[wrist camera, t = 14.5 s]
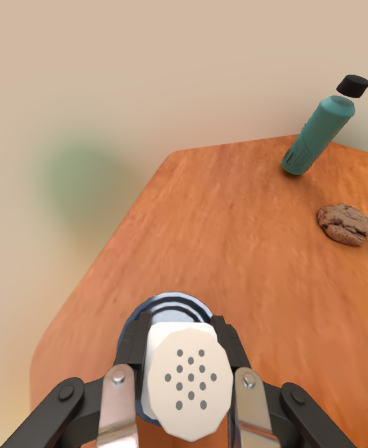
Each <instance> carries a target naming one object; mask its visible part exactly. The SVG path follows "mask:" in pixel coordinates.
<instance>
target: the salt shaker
mask: <svg viewBox="0 0 368 448" xmlns="http://www.w3.org/2000/svg"><path fill="white" fill-rule="evenodd" d="M232 385H233V374H232V371H231V368H230V364H229V361H228V358H227V355H226V352H225V350H224V349H223V348H222V346H221V345H220V344H219V343H218V341H217V334H216V332H215V330H214V328H213V326H211V325H209V324H207V323H193V322H159V323H156V324H154V325H152V326H151V328H150V330H149V332H148V337H147V345H146V353H145V362H144V373H143V383H142V395H141V404H142V408H143V412H144V414H146V415H147V416H148V417H150V418H151V419H157V420H158V421H159V422H160V424H161V425H162V427H163V428H164V430H165V432H166V433H167V434H170V435H173V436H175V437H178V438H181V439H183V440H186V441H189V442H194V441H196V440H198V439H200V438H203V437H205V436H207V435H209V434H212V433H214V432H216V430H217V428H218V427H219V425H220V423H221V422H222V420H223V418H224V417H225V415H226V413H227V412H228V410H229V408H230V407H231V396H232Z"/></svg>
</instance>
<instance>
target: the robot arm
mask: <svg viewBox="0 0 368 448" xmlns="http://www.w3.org/2000/svg"><path fill="white" fill-rule="evenodd" d="M151 322H152V313H150V312H141V314H140V317H139V321H137V320H132V321H131V322H130V323H129V324H128V325H127V327H126V329H125V332H124V335H123V338H122V341H121V344H120V347H119V350H118V353H117V356H116V359H115V361H114V364H113V367H112V368H111V369H110V370H109V371H108V372H107V373H106V375H105V376H103V377H102V378H100V379H98V380H95V381H92V382H89V383H86V384H84V382H83V381H82V380H81V379H80V378H77V377H73V378H68V379H66V380H64V381H62V382H60V383H59V384H58V385H57V386H56V387H55V388H54V389H53V390H52V391H51V392H50V393H49V394H48V395H47V396H46V397H45V399H44V400H43V401H42V402H41V403H40V404H39V405H38V406H37V407H36V408H35V410H34V411H33V412H32V413H31V414H30V415H29V416H28V417H27V418H26V419H25V421H24V422H23V423H22V424H21V425H20V426H19V427H18V428H17V429H16V431H15V432H14V433H13V434H12V435H11V436H10V437H9V438H8V439H7V441H5V443H4V444H3V445H2V446H1V447H0V448H80V447H81V446H82V445H83V444H85V443H87V442H90V441H92V440H94V439H96V445H95V448H139V443H138V427H137V422H136V408H135V402H136V400H141V393H142V383H143V373H144V362H145V353H146V345H147V337H148V332H149V330H150V328H151ZM210 325H211V326H213V328H214V330H215V332H216V334H217V341H218V343H219V344H220V345H221V346H222V348H223V349H224V350H225V352H226V355H227V358H228V361H229V364H230V368H231V371H232V374H233V385H232V396H231V407H230V408H229V410H228V448H357V447H356V446H355V445H354V444H353V443H352V442H351V441H350V440H349V439H348V437H347V436H346V435H345V434H344V433H343V432H342V431H341V430H340V429H339V427H338V426H337V425H336V424H335V423H334V422H333V421H332V420H331V419H330V417H329V416H328V415H327V414H326V413H325V412H324V411H323V410H322V409H321V407H320V406H319V405H318V404H317V403H316V402H315V401H314V400H313V399H312V397H311V396H310V395H309V394H308V393H307V392H306V391H305V390H304V389H303V388H301V387H300V386H298V385H296V384H294V383H290V382H287V383H284V384H283V385H282V388H278V387H276V386H273V385H270V384H268V383H265V382H264V381H262V379H261V378H260V376H259V375H258V374H257V373H256V372H255V371H254V370H252V368H251V366H250V363H249V361H248V359H247V356H246V354H245V351H244V349H243V346H242V345H241V341H240V339H239V337H238V334H237V332H236V330H235V329H234V328H233V327H232V326H231V324H226V323H225V321H224V318H223V316H216V315H212V316H211V321H210Z"/></svg>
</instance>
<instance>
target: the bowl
mask: <svg viewBox="0 0 368 448" xmlns="http://www.w3.org/2000/svg"><path fill="white" fill-rule="evenodd" d="M141 312H150V313H152V322H151V326H152V325H154V324H156V323H159V322H193V323H207V324H209V325H210V321H211V316H212V315H213V314H212V312H211V311H210V310H209V308H208V307H207V306H206V305H205V304H203V303H202V302H201V301H199V300H198V299H196V298H195V297H193V296H191V295H187V294H184V293H181V292H165V293H161V294H158V295H156V296H153V297H150V298H149V299H147V300H146V301H145V302H143V303H142V304H141V305H140V306H138V307H137V308H136V309H135V311H134V312H133V313H132V315H131V316H130V317H129V318H128V320H127V321H126V323H125V325H124V328H123V330H122V333H121V335H120V338H119V340H118V345H117V353H118V350H119V347H120V344H121V341H122V338H123V335H124V332H125V329H126V327H127V325H128V324H129V323H130V322H131V321H132V320H137V321H139V317H140V314H141ZM117 353H116V356H117ZM141 395H142V393H141ZM135 408H136V414H137V415H138V416H139V417H140V418H141V419H142V420H143V419H144V421H147V422H149V423H152V424H155V425H157V426H160V427H162V425H161V424H160V422H159V421H158V420H157V419H151V418H150V417H148V416H147V415H146V414H144V412H143V408H142V404H141V400H136V402H135Z"/></svg>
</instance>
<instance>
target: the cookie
mask: <svg viewBox="0 0 368 448" xmlns="http://www.w3.org/2000/svg"><path fill="white" fill-rule="evenodd" d="M318 221H319V226H320V227H322V228H323V229H324V230H325V232H326V233H327V234H328V235H329V237H331V238H332V239H334V240H335V241H338V242H341V243H344V244H348V245H350V246H355V245H361V244H365V243H366V240H365V239H366V236H367V235H368V218H367V217H366V216H365V215H364V214H363V213H361V211H359V210H357V209H356V208H354V207H352V206H350V205H345V204H344V203H339V204H337V205H336V206H330V205H329V206H327V207H326V206H324V207H322V208H321V209H320V210H319V213H318Z"/></svg>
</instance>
